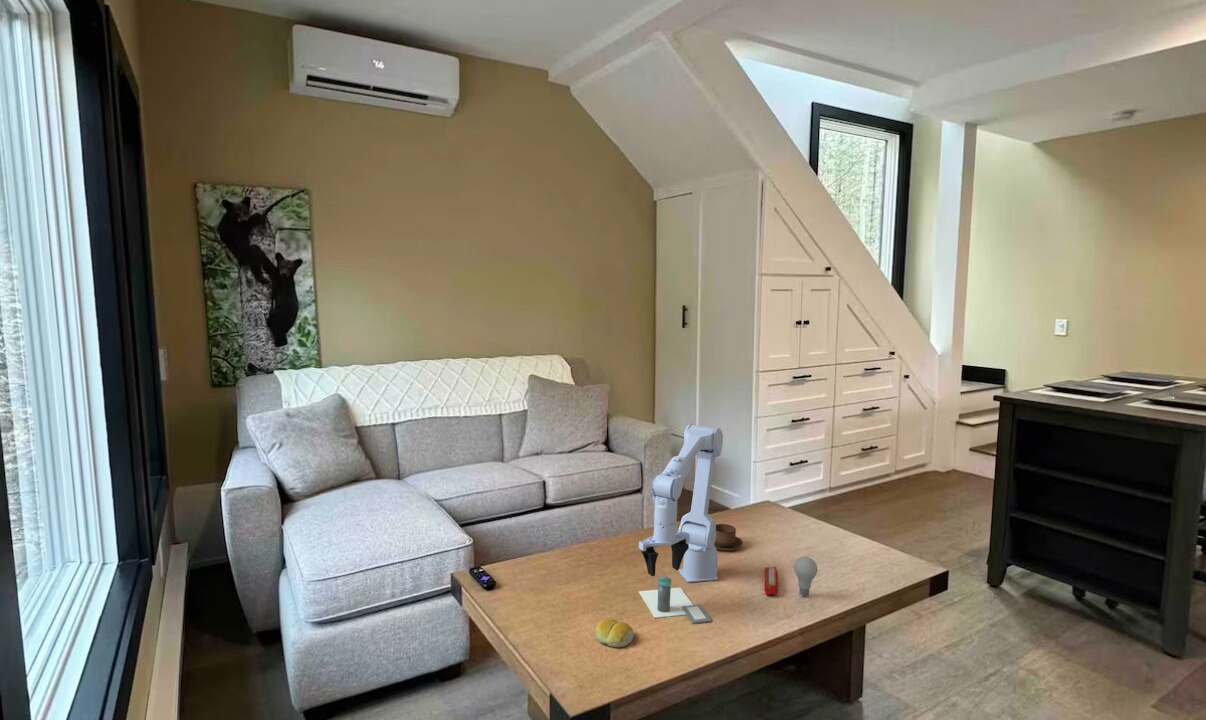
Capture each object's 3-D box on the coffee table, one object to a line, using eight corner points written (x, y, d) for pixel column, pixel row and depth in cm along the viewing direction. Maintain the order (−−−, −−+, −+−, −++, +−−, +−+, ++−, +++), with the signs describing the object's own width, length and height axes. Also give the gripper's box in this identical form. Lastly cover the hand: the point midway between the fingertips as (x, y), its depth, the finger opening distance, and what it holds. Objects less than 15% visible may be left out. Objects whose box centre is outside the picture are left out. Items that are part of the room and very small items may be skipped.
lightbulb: (815, 593, 176) (818, 555, 175) (815, 603, 170) (818, 564, 169) (792, 589, 178) (795, 551, 177) (791, 599, 172) (794, 560, 171)
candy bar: (764, 572, 189) (765, 562, 188) (777, 574, 188) (777, 564, 187) (763, 597, 173) (764, 587, 173) (777, 599, 172) (778, 588, 172)
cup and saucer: (704, 537, 213) (705, 520, 213) (740, 540, 212) (741, 522, 211) (705, 552, 202) (706, 533, 201) (743, 555, 200) (744, 536, 199)
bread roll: (606, 625, 157) (606, 610, 156) (638, 636, 152) (638, 621, 152) (587, 640, 150) (588, 624, 150) (620, 653, 145) (620, 636, 145)
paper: (680, 588, 177) (680, 587, 177) (699, 613, 163) (699, 612, 163) (638, 591, 174) (638, 591, 174) (654, 618, 160) (654, 617, 160)
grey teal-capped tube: (666, 605, 167) (667, 576, 166) (672, 611, 164) (673, 581, 163) (654, 607, 166) (655, 577, 165) (660, 613, 162) (661, 583, 161)
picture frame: (699, 606, 167) (699, 604, 167) (711, 622, 159) (711, 619, 159) (681, 608, 166) (681, 605, 166) (692, 624, 158) (692, 621, 158)
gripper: (679, 511, 170) (677, 560, 172) (633, 520, 163) (631, 570, 165) (695, 520, 164) (693, 570, 166) (648, 530, 157) (646, 582, 158)
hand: (663, 571), depth 165 cm, fingers open, 7 cm apart
